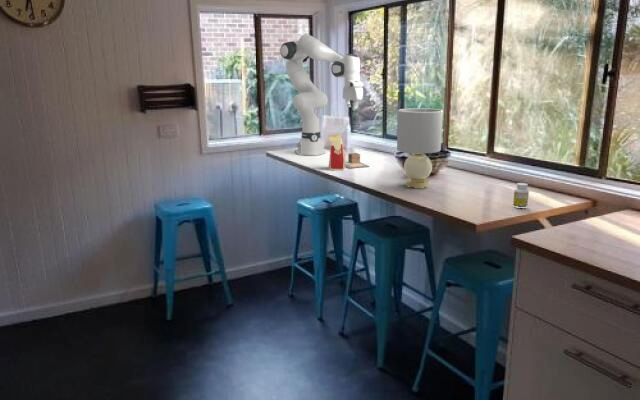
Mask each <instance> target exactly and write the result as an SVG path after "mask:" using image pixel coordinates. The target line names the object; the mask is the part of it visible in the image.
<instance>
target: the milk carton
mask: <svg viewBox="0 0 640 400" xmlns="http://www.w3.org/2000/svg"><path fill="white" fill-rule="evenodd" d="M328 137H329V140H330V151H329V152H330V153H329V162H328V170H330V171H345V169H346V167H345V162H346V155H345V148H344V143H343V140H342V132H339V133H336V134H332V135H331V134H330V135H328Z"/></svg>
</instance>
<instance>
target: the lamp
mask: <svg viewBox="0 0 640 400" xmlns="http://www.w3.org/2000/svg"><path fill="white" fill-rule="evenodd" d="M443 116H444V111H443V110H442V109H437V108H428V107H427V108H425V107H424V108H423V107H421V108H419V107H418V108H417V107H416V108H415V107H414V108H400V109H398V110H397V124H396V125H397V127H396V128H397V131H396V132H397V134H396V135H397V136H396V150H397V151H398V152H403V153H408V154H410V155H409V156H408V157H407V158H406V159H405V161H404V165H403V170H404V174H405V176H407V177H408V178H406V179H405V187H407V186H409V187H417V188H416V189H423V188H422V187H427V186H430V180H429V179H427V178H428V177H429V176H430V175H431V173H432V170H433V164H432V161H431V159H430V158H429V157H428V156H427V155H426V154H432V153H433V154H434V153H438V152H440V151H441V150H442V149H441V148H442V134H443V132H442V131H443ZM409 187H408V188H409ZM427 188H428V187H427Z"/></svg>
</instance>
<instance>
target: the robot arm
mask: <svg viewBox="0 0 640 400" xmlns="http://www.w3.org/2000/svg"><path fill="white" fill-rule="evenodd" d="M279 51H280V55H281V57H282V58H283V59H285V60H287V62H285V70H286V72H287V76H288V77H289V80H290V82H291V84H292V86H293V88H294V90H296V91H297V92H299V93H297V94H295V95H294V96H293V99H292V104H293V107H294V108H295V109H296V110H297V111H298V113H299V115H300V119H301V124H302V125H301V126H302V128H301V129H302V132H301V136H300V137H301V138H300V140H299V142H298V143H296V148H298V149H295V150H294V152H295V154H296V155H297V156H298V155H299V156H321V155H322V154H326V150H324V143H323V139H322V138H321V136H322V135H321V130H320V128H321V124H320V123H321V122H320V121H321V120H320V118H319V117H318V116H316V114H315V110H320V109H323V108H325V107H326V106H327V105H328V101H329V100H328V95H327V94H326V93H325V92H322V90H320V89H319V88H318V87H317V86H316V85H315V84H314V83H313V82H312V80H311V79H310V77H309V75H308V73H307V71H306V69H305V68H304V65H303V63H306V62H307V61H308V60H309V58H310V59H312V60H315V61H319V62H320V61H323V62H328V63H329V62H330V63H332V65H331V68H330V69H331V74H332V75H333V76H334V77H335V78H344V86H343V89H342V98H343V100H345V102H346V107H347V108H351V106H352V105H351V101H353V102H354V104H353V108H354V109H355V110H356V109H358V107H359V103H360V101H361V102H362V101H363V97H364V88H363V87H364V82H363V81H362V80H361V75H360V72H361V60H360V56H359V55H357V54H355V53H353V54H352V53H347V54H345V55H342V54H340V53H339V52H337V51H335V50H333V49H332V48H330V47H329V46H328V45H326V44H325V43H323V42H322V41H320V40H319V39H318V38H316V37H314V36H312V35H311V34H307V33H305V34H302V35H300V37H299V38H298V41H297V40H296V41H286V42H284V43H282V44H281V46H280V50H279Z"/></svg>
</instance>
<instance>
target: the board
mask: <svg viewBox="0 0 640 400" xmlns="http://www.w3.org/2000/svg"><path fill="white" fill-rule="evenodd" d="M369 167H370V165H367V164H365V163H363V162H361V161H360V163H350V162H348V161H345V168H346V169H351V170H352V169H361V168H369Z"/></svg>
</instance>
